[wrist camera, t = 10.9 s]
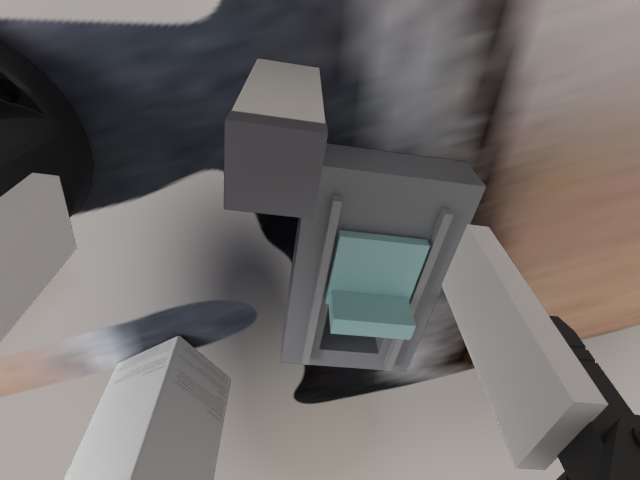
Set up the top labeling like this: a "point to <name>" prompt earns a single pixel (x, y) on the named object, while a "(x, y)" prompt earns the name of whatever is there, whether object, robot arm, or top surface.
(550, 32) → the top surface
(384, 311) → the shutter
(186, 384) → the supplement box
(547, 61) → the top surface
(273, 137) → the grey rectangular block
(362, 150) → the socket housing
